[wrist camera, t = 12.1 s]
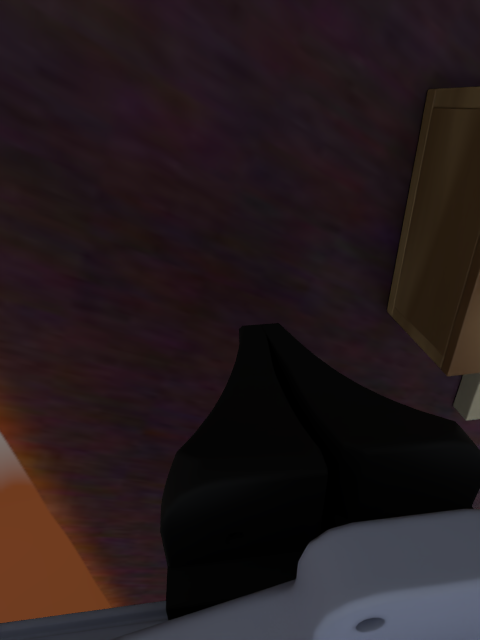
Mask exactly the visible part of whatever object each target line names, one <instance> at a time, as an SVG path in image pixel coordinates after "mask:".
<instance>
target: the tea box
mask: <svg viewBox="0 0 480 640" xmlns="http://www.w3.org/2000/svg"><path fill="white" fill-rule="evenodd" d="M479 237H480V87H461V88H442V89H429V90H428V92H427V98H426V103H425V108H424V114H423V119H422V125H421V130H420V135H419V141H418V146H417V152H416V157H415V162H414V168H413V173H412V178H411V184H410V189H409V195H408V200H407V205H406V211H405V216H404V222H403V227H402V232H401V238H400V243H399V248H398V254H397V259H396V265H395V270H394V275H393V281H392V286H391V292H390V297H389V302H388V308H387V312H388V313H389V314H390V315H391V316H392V317H393V319H394V320H395V321H396V322H397V323H398V324H399V325H400V326H401V327H402V328H403V329H404V330H405V331H406V332H407V334H408V335H409V336H410V337H411V338H412V339H413V340H414V341H415V342H416V343H417V344H418V345H419V346H420V347H421V348H422V350H423V351H424V352H425V353H426V354H427V355H428V356H429V357H430V358H431V359H432V360H433V361H434V362H435V363H436V364H437V366H438V367H439V368H441V367H442V364H443V361H444V357H445V354H446V350H447V347H448V343H449V340H450V337H451V333H452V330H453V326H454V323H455V319H456V316H457V313H458V309H459V306H460V302H461V299H462V295H463V292H464V289H465V285H466V282H467V278H468V275H469V271H470V268H471V265H472V261H473V258H474V254H475V251H476V247H477V244H478V240H479Z"/></svg>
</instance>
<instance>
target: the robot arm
mask: <svg viewBox="0 0 480 640" xmlns="http://www.w3.org/2000/svg"><path fill="white" fill-rule="evenodd" d="M239 342H240V345H239V350H238V354H237V358H236V362H235V365H234V367H233V370H232V373H231V376H230V378H229V380H228V383H227V385H226V387H225V389H224V391H223V393H222V395H221V397H220V398H219V400H218V402H217V403H216V405H215V407H214V408H213V410H212V411H211V413H210V414H209V416H208V417H207V418H206V419H205V421H204V422H203V423H202V425H201V426H200V427H199V429H198V430H197V431H196V432H195V433H194V435H193V436H192V437H191V438H190V439H189V440H188V441H187V442H186V443H185V444H184V445H183V446H182V447H181V448H180V449H179V450H178V451H177V453H176V455H175V458H174V460H173V463H172V466H171V469H170V472H169V475H168V478H167V481H166V485H165V488H164V493H163V498H162V504H161V527H160V532H161V537H162V542H163V546H164V551H165V556H166V561H167V565H168V571H167V592H166V601H160V602H153V603H145V604H138V605H131V606H123V607H116V608H109V609H102V610H94V611H88V612H80V613H72V614H65V615H58V616H50V617H43V618H36V619H29V620H21V621H14V622H7V623H0V640H480V509H473V507H472V504H473V502H474V499H475V497H476V495H477V493H478V491H479V489H480V450H479V449H478V447H477V446H476V445H475V444H474V443H473V441H472V440H471V439H470V438H469V436H468V435H467V434H466V433H465V432H464V431H463V429H462V428H461V427H460V426H459V425H458V424H457V423H456V422H455V421H452V420H448V419H445V418H442V417H438V416H435V415H432V414H429V413H425V412H422V411H419V410H416V409H413V408H411V407H408V406H406V405H403V404H400V403H398V402H395V401H393V400H391V399H388V398H386V397H384V396H381V395H379V394H377V393H375V392H373V391H371V390H369V389H367V388H365V387H363V386H361V385H359V384H357V383H356V382H354V381H352V380H350V379H349V378H347V377H345V376H344V375H342V374H340V373H339V372H337V371H336V370H334V369H333V368H331V367H330V366H329V365H327V364H326V363H324V362H323V361H322V360H320V359H319V358H318V357H316V356H315V355H314V354H313V353H311V352H310V351H309V350H308V349H307V348H305V347H304V346H303V345H302V344H301V343H300V342H299V341H297V340H296V339H295V338H294V337H293V336H292V335H291V334H290V333H289V332H288V331H287V330H285V329H284V328H283V327H282V326H281V325H280V324H279V323H276V324H263V325H249V326H242V327H241V328H240V329H239Z"/></svg>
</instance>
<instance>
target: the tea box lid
mask: <svg viewBox="0 0 480 640" xmlns="http://www.w3.org/2000/svg"><path fill="white" fill-rule="evenodd" d="M441 370H442V371H443V372H444V373H445V374H446V375H447V376H455V375H465V374H475V373H480V237H479V240H478V244H477V247H476V251H475V254H474V258H473V261H472V265H471V268H470V271H469V275H468V278H467V282H466V285H465V289H464V292H463V295H462V299H461V302H460V306H459V309H458V313H457V316H456V319H455V323H454V326H453V330H452V333H451V337H450V340H449V343H448V347H447V350H446V354H445V357H444V361H443V364H442V367H441Z"/></svg>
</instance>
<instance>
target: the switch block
mask: <svg viewBox="0 0 480 640" xmlns="http://www.w3.org/2000/svg"><path fill="white" fill-rule="evenodd" d="M453 406H454V407H455V408H456V410H457V411H458V412H459V413H460V414H461V415H462V417H463V418H464V419H465V420H475V419H480V373H475V374H465V375H463V377H462V380H461V383H460V386H459V389H458V392H457V395H456V398H455V401H454V404H453Z"/></svg>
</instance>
